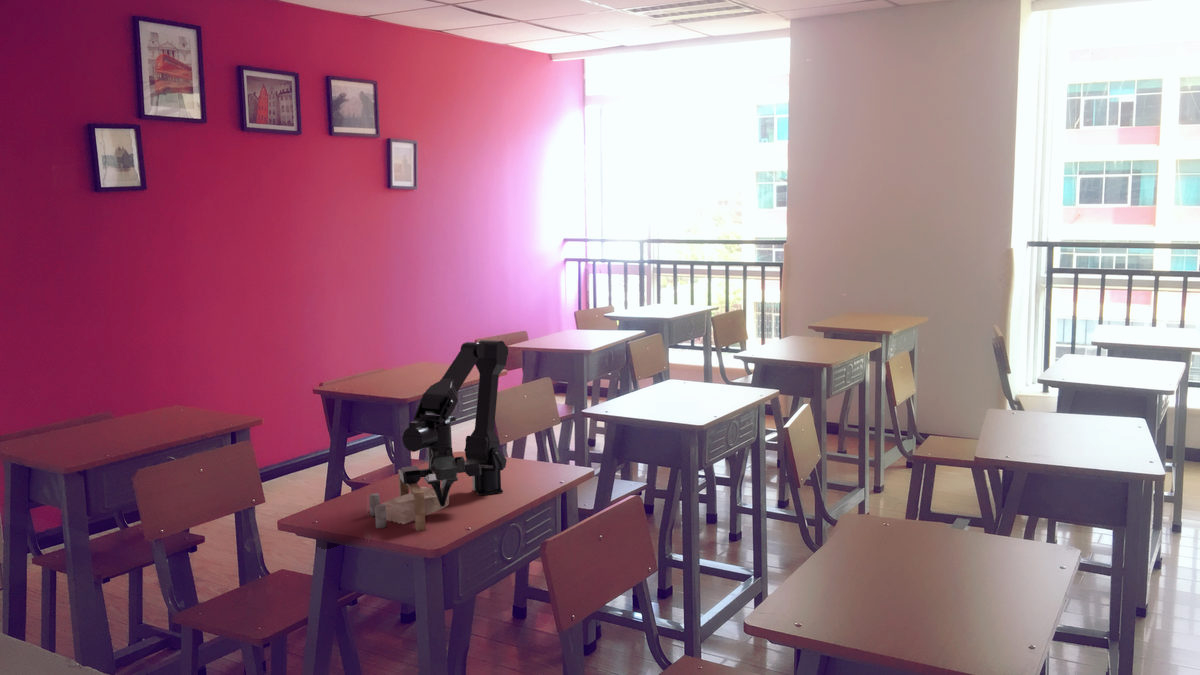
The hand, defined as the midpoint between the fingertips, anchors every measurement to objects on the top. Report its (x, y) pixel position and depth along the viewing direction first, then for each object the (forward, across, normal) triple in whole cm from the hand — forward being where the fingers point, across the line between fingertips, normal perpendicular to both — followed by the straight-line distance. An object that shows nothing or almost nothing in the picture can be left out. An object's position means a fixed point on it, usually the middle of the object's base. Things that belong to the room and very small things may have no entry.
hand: (442, 506), depth 225 cm
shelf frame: (+2, -11, 0) cm, 12 cm away
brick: (+2, -6, +3) cm, 7 cm away
